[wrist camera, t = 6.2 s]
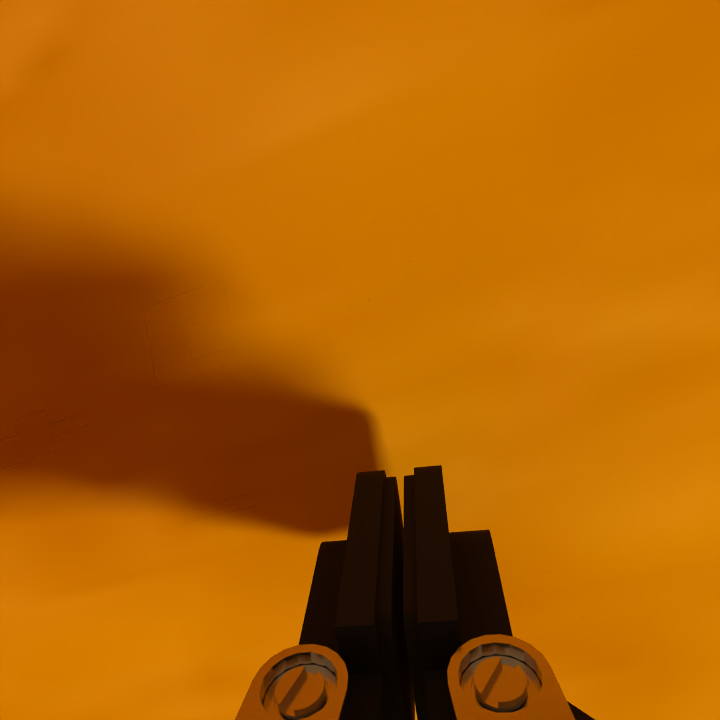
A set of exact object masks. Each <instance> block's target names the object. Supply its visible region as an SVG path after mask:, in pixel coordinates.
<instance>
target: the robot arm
mask: <svg viewBox="0 0 720 720" xmlns="http://www.w3.org/2000/svg"><path fill="white" fill-rule="evenodd" d="M415 705H416V712H417V719H418V720H595V719H593V718H592V717H590V716H589V715H587V714H586V713H584V712H583V711H581V710H580V709H578V708H577V707H575V706H574V705H572V704H571V703H569V702H567V701H566V698H565V696H564V694H563V692H562V690H561V688H560V686H559V683H558V681H557V679H556V677H555V675H554V673H553V670H552V668H551V666H550V665H549V663H548V662H547V660H546V659H545V657H544V656H543V654H542V653H541V652H539V651H538V650H537V649H536V648H534V647H533V646H532V645H531V644H529V643H527V642H525V641H523V640H520V639H518V638H516V637H513V636H512V631H511V626H510V622H509V617H508V612H507V608H506V603H505V598H504V594H503V589H502V585H501V580H500V575H499V571H498V566H497V561H496V557H495V552H494V547H493V543H492V538H491V534H490V531H489V530H478V531H465V532H451V533H449V530H448V521H447V512H446V503H445V494H444V485H443V476H442V467H441V465H439V466H428V467H416V468H414V475H409V476H404V528H403V521H402V514H401V507H400V500H399V493H398V486H397V480H396V477H386V473H385V471H384V470H382V471H371V472H359V473H357V476H356V483H355V489H354V496H353V503H352V510H351V516H350V523H349V530H348V537H347V540H342V541H329V542H322V543H321V545H320V548H319V552H318V557H317V561H316V566H315V571H314V575H313V580H312V585H311V590H310V594H309V599H308V604H307V608H306V613H305V618H304V622H303V627H302V632H301V637H300V641H299V645H297V646H294V647H291V648H288V649H285V650H283V651H281V652H279V653H278V654H276V655H274V656H273V657H271V658H270V659H269V660H268V661H267V662H266V663H265V664H264V665H263V666H262V667H261V668H260V669H259V671H258V672H257V674H256V676H255V677H254V679H253V681H252V683H251V685H250V687H249V689H248V692H247V694H246V696H245V698H244V701H243V703H242V705H241V707H240V709H239V712H238V714H237V716H236V718H235V720H415Z"/></svg>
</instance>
